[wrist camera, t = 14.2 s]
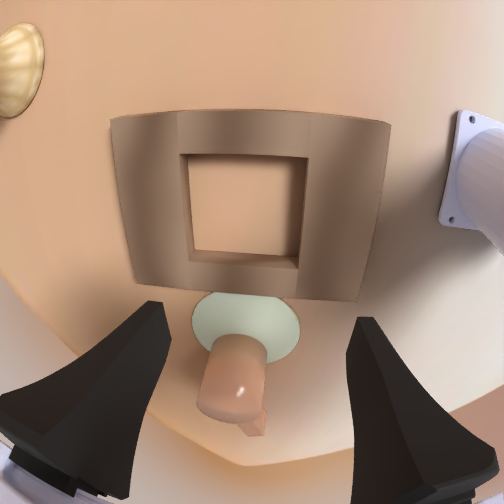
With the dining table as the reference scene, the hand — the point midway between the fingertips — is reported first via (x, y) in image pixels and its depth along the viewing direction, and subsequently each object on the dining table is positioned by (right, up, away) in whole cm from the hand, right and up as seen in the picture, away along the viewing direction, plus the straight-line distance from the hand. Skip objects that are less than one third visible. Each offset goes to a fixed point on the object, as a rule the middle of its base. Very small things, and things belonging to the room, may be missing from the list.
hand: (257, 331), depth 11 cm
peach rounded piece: (-1, -8, +16) cm, 18 cm away
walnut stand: (-1, +6, +8) cm, 10 cm away
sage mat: (-1, -4, +14) cm, 14 cm away
